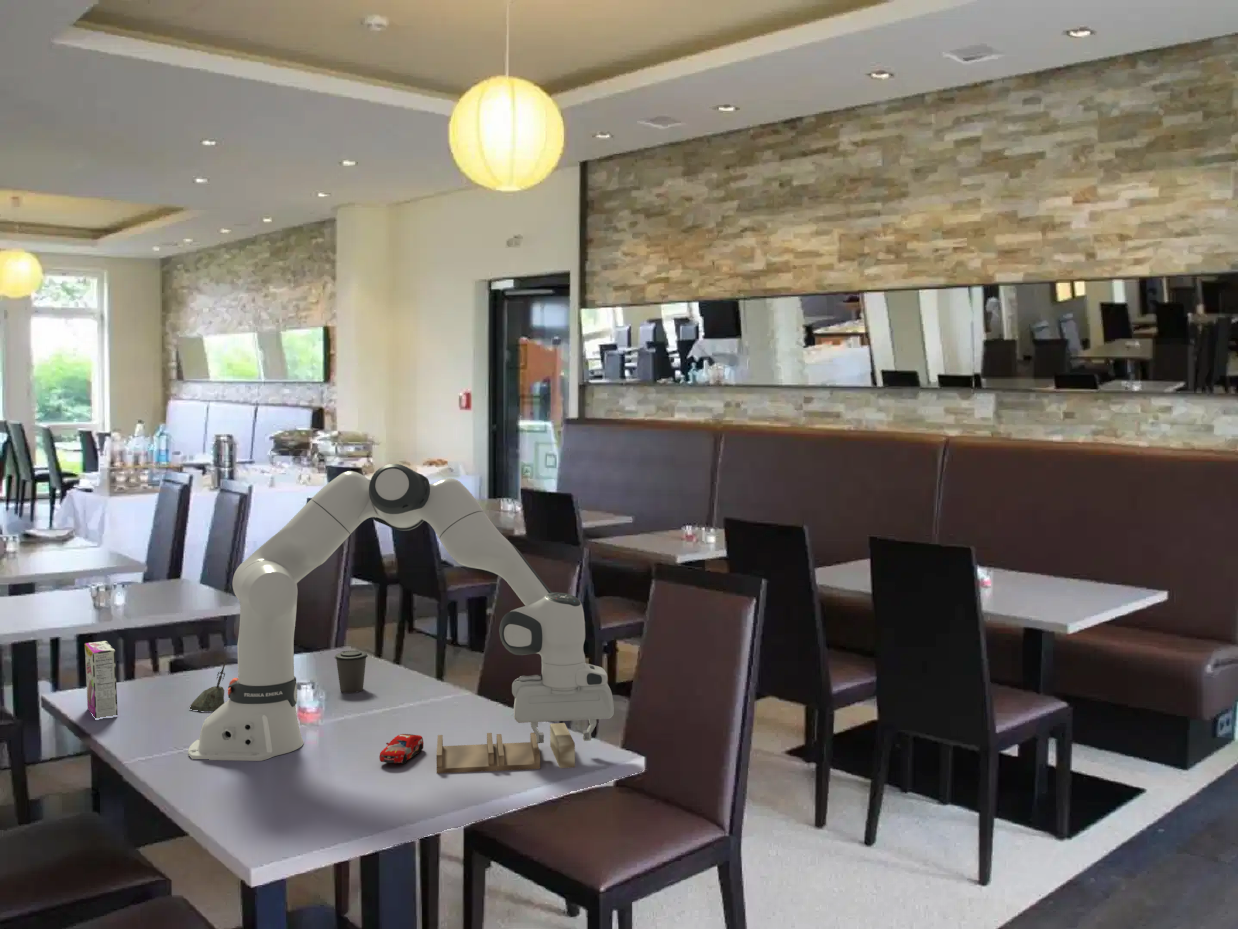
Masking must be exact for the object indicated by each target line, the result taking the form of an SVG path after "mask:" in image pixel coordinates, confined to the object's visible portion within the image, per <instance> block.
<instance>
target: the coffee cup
mask: <svg viewBox="0 0 1238 929" xmlns="http://www.w3.org/2000/svg"><path fill="white" fill-rule="evenodd" d="M368 657H369V655H368V653H366V651H360V650H346V651H344V650H343V651H341V652H340V653H337V654H335V656H334V659H335V660H336V661H335V662H336V668H337V674H338V675H337V676H338V683H339V690H340V692H341V693H346V694H353V693H359V692H362V691H363V690H364V683H365V675H366V674H365V672H366V663H367V658H368Z"/></svg>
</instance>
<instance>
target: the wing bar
mask: <svg viewBox="0 0 1238 929" xmlns="http://www.w3.org/2000/svg"><path fill="white" fill-rule="evenodd" d="M549 724H550V726H549V731H550V732H549V733H550V734H549V735H550V738H549V739H550V740H549V743H550V745H549V746H550V748H551V751H552V753H553V755H554V758H555V760H556V763H557V765H558V767H559V769H568V768H569V769H570V768H576V743H575V741H574V739H573V736H572V735H571V733H570V731H569V729H568V728H567V725H566V723H565V722H557V723H549Z"/></svg>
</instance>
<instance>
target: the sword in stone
mask: <svg viewBox="0 0 1238 929" xmlns="http://www.w3.org/2000/svg"><path fill="white" fill-rule="evenodd" d="M227 661H228V658H227V657H225V658H224V661H223V665H222V669H221V670H220V671H218V672H217V675H216V676H217V677H216V679H217V684H216V686H211V687H209V688H207V689H205V690H202V692H201V693H200V694H199V695H198V696H197V697H196V698H195V699H193V700H194V701H192V703H191V704H190V706H191V707H190V706H189V707H190V709H192V710H198V711H215V710H217V709H218V708H219V707H220V706H221V705H223V704H224V703H225V698H224V697H225V689H224V687H223V686H220V683H221V680H222V682H223V680H224V679H225V676H226V673H225V671H224V670H225V667H226V663H227ZM222 675H223V676H222Z"/></svg>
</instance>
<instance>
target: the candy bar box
mask: <svg viewBox="0 0 1238 929" xmlns="http://www.w3.org/2000/svg"><path fill="white" fill-rule="evenodd" d="M84 655H85V656H84V657H85V677H86V680H85V681H86V683H85V684H86V699H87V700H86V701H87V703H86V704H87V710H88V709H89V711H90V712H91V713H92V714H93V716H94V717H95V718H100V717H106V716H113V715H118V690H117V689H118V688H117V668H116V664H117V663H116V650H115V649H114V648H113V646H111V644H110V643H109V642H108V641H107V640H102V641H94V642H85V643H84ZM89 711H88V712H89ZM90 712H89V713H90Z"/></svg>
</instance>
